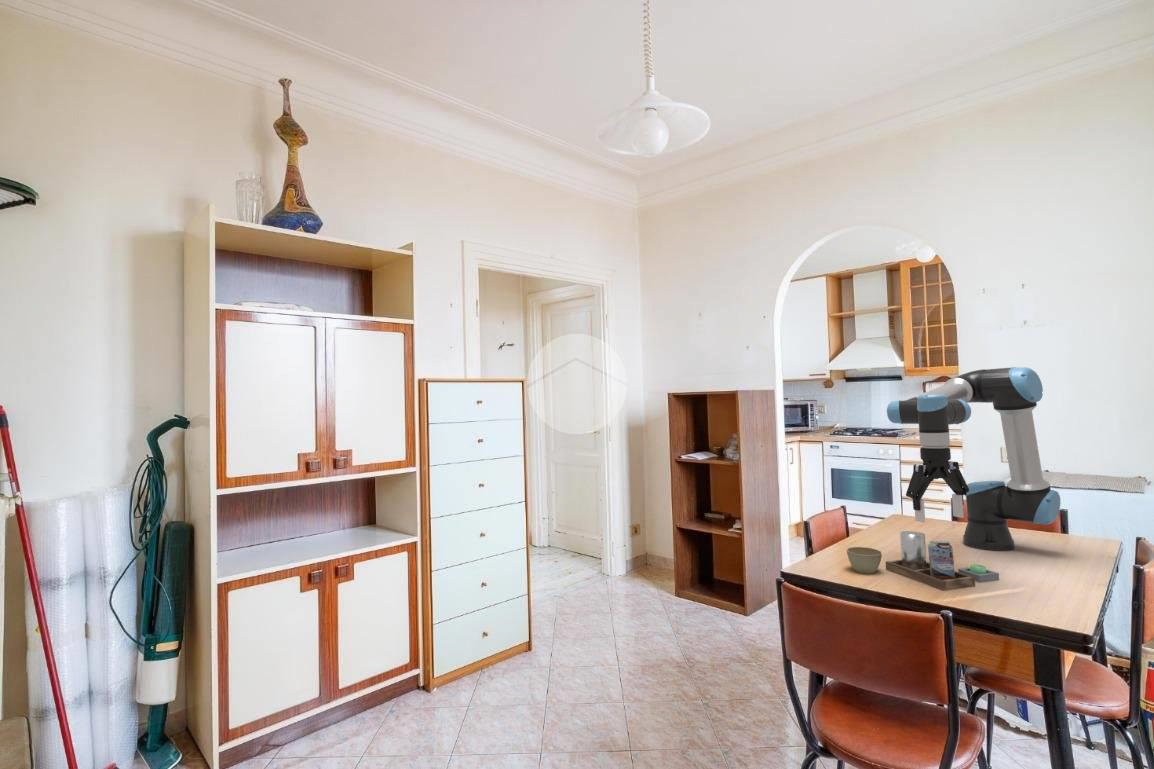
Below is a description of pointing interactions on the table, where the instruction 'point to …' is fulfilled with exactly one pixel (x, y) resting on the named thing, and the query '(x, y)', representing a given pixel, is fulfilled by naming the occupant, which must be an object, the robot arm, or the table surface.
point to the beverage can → (941, 560)
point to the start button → (978, 569)
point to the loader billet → (913, 550)
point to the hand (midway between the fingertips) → (939, 519)
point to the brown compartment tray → (926, 578)
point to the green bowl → (864, 559)
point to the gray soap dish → (981, 575)
